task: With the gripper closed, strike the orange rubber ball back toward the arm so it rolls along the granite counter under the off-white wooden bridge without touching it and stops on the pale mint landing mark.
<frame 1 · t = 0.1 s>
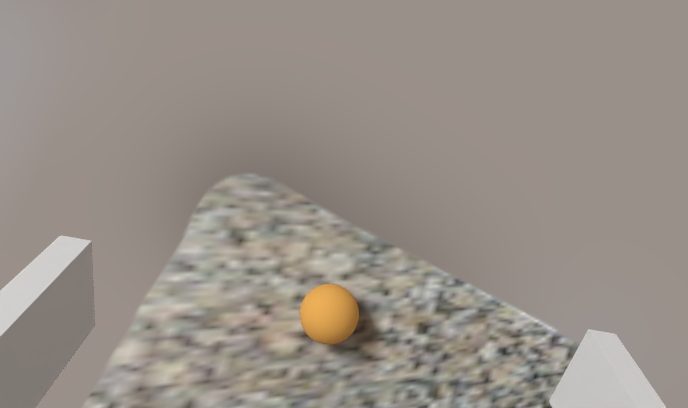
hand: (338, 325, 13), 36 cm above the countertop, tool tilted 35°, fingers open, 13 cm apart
ball: (329, 313, 45), on the countertop
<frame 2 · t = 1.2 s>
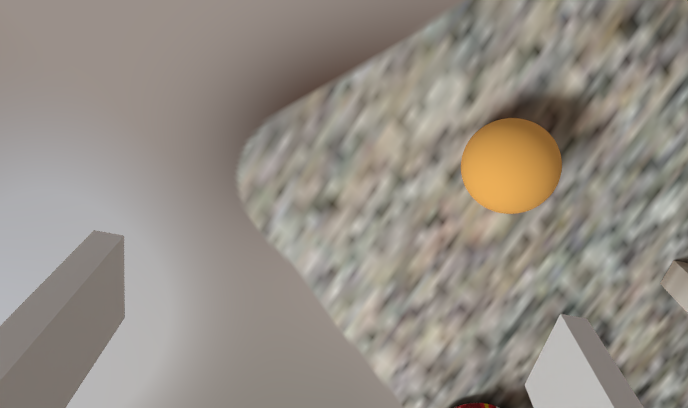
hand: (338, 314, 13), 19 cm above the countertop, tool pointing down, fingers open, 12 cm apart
ball: (509, 166, 28), on the countertop
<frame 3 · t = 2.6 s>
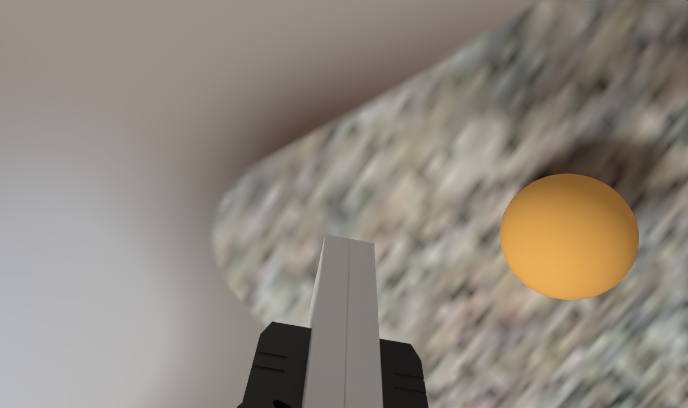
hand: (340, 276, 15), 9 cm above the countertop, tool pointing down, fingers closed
ball: (565, 236, 21), on the countertop
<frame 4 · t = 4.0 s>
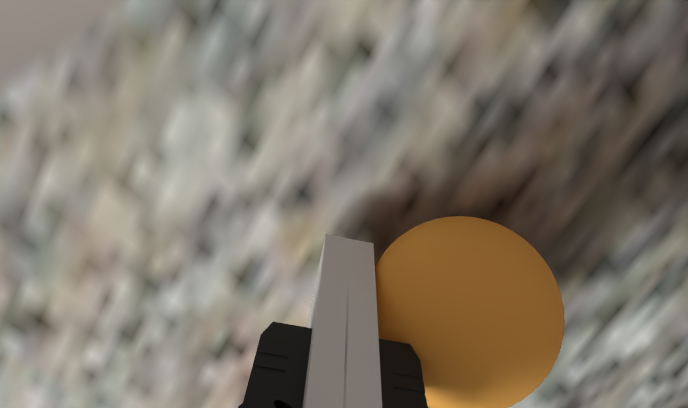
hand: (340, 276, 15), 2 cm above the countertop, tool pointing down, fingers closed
ball: (459, 311, 14), on the countertop
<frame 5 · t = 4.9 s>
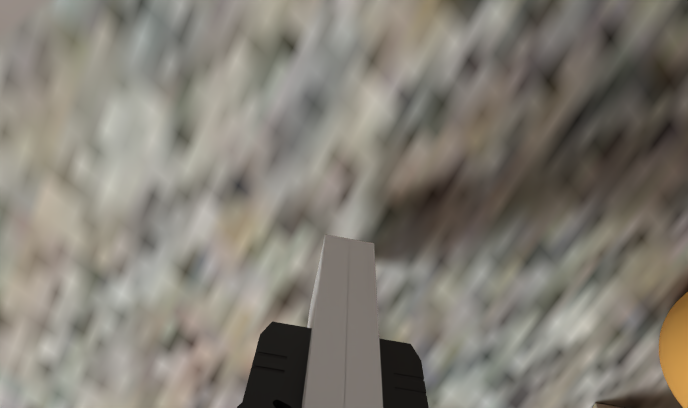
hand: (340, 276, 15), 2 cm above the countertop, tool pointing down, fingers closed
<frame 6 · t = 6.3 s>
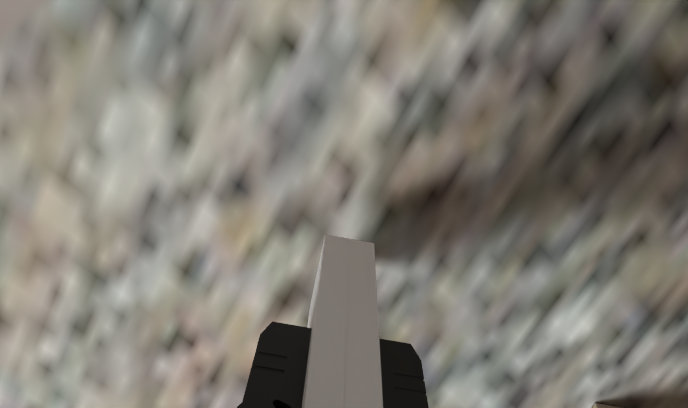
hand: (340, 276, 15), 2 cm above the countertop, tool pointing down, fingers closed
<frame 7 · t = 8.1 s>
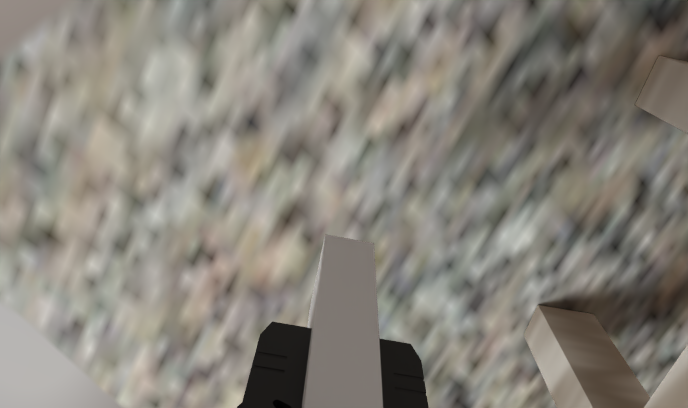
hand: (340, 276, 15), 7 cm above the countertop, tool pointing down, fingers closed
bridge: (611, 221, 22), on the countertop
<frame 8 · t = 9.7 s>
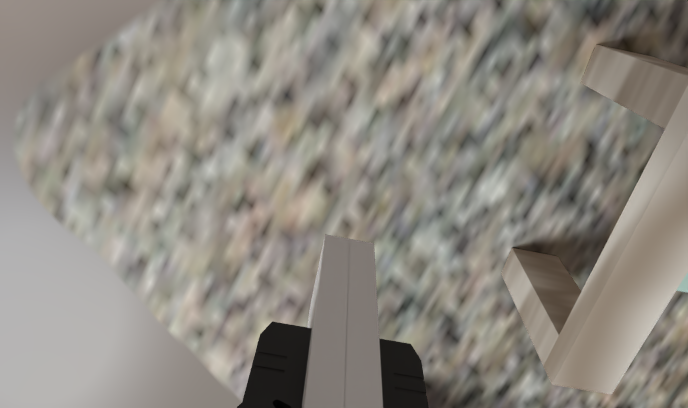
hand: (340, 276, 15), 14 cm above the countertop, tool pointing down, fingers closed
bridge: (567, 176, 28), on the countertop
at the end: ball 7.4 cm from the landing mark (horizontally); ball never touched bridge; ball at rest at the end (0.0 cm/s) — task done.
